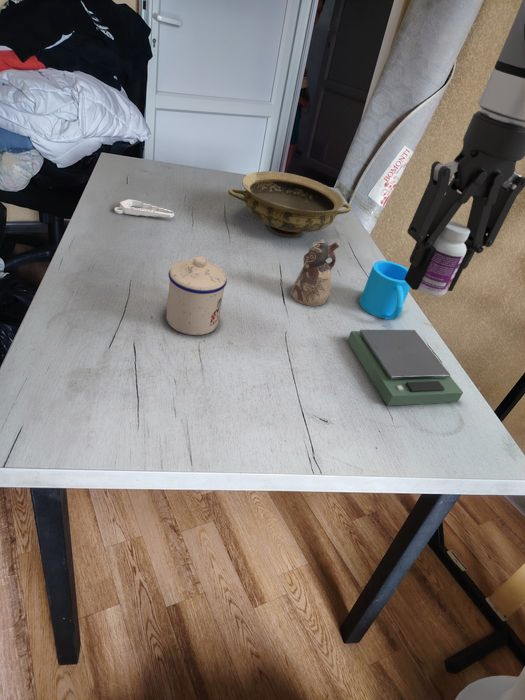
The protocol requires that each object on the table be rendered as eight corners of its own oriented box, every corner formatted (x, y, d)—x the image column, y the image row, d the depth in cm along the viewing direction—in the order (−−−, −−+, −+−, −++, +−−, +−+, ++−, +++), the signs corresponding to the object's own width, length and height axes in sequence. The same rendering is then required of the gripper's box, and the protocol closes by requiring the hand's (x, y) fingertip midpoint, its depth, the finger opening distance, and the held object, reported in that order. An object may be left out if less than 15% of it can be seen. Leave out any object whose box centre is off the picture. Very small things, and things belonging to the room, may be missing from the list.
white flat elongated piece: (174, 213, 112) (175, 206, 111) (173, 222, 108) (173, 214, 107) (117, 203, 109) (117, 196, 108) (113, 212, 106) (113, 205, 105)
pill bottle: (450, 299, 69) (482, 238, 63) (416, 294, 68) (444, 231, 62) (439, 281, 73) (467, 221, 67) (406, 275, 72) (432, 215, 67)
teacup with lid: (221, 339, 77) (232, 277, 70) (164, 335, 75) (169, 270, 68) (216, 298, 87) (225, 239, 80) (165, 294, 85) (170, 233, 78)
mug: (355, 293, 98) (368, 258, 93) (391, 298, 100) (406, 263, 95) (370, 328, 89) (385, 291, 84) (410, 332, 91) (428, 296, 86)
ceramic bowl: (330, 216, 129) (341, 180, 123) (355, 259, 111) (369, 219, 105) (220, 201, 123) (226, 161, 117) (226, 244, 104) (234, 200, 98)
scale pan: (449, 377, 77) (450, 375, 77) (390, 379, 74) (391, 376, 73) (413, 332, 86) (414, 329, 85) (359, 332, 82) (360, 329, 82)
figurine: (291, 283, 96) (306, 228, 89) (325, 290, 97) (343, 236, 90) (290, 302, 91) (306, 245, 83) (327, 309, 91) (346, 253, 84)
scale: (457, 402, 77) (464, 390, 75) (387, 406, 73) (393, 393, 71) (409, 340, 88) (415, 328, 87) (347, 340, 84) (352, 328, 83)
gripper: (544, 119, 62) (464, 274, 76) (426, 97, 56) (362, 269, 70) (588, 137, 57) (492, 300, 71) (461, 115, 51) (385, 298, 65)
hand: (428, 285), depth 71 cm, fingers closed on pill bottle, 5 cm apart
